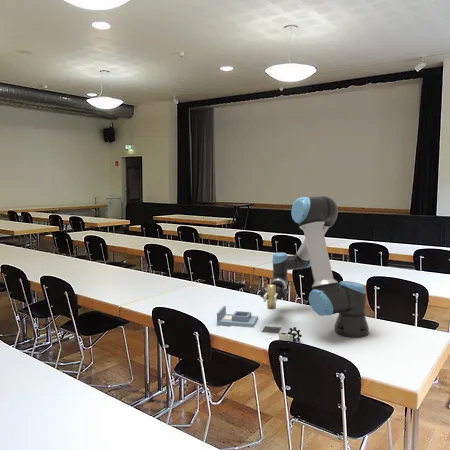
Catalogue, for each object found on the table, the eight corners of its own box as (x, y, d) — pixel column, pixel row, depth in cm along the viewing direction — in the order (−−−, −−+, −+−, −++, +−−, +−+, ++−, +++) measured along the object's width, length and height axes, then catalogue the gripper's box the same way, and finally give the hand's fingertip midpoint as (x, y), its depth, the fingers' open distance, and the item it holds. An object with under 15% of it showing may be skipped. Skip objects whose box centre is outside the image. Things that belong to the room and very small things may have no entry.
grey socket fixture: (258, 320, 218) (258, 308, 217) (253, 328, 207) (253, 316, 206) (223, 317, 223) (223, 306, 222) (217, 325, 211) (216, 313, 211)
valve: (287, 352, 179) (301, 343, 188) (287, 336, 178) (302, 328, 187) (274, 348, 183) (288, 339, 192) (274, 333, 182) (288, 325, 191)
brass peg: (276, 307, 204) (276, 284, 202) (275, 309, 200) (275, 286, 199) (268, 306, 205) (267, 283, 203) (266, 309, 201) (266, 285, 200)
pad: (281, 328, 206) (281, 327, 206) (278, 334, 198) (278, 333, 198) (264, 326, 208) (264, 326, 208) (261, 332, 201) (261, 331, 200)
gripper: (294, 295, 217) (288, 308, 194) (260, 293, 221) (251, 306, 199) (294, 280, 216) (288, 292, 194) (260, 279, 221) (250, 290, 198)
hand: (269, 299), depth 196 cm, fingers closed on brass peg, 4 cm apart
